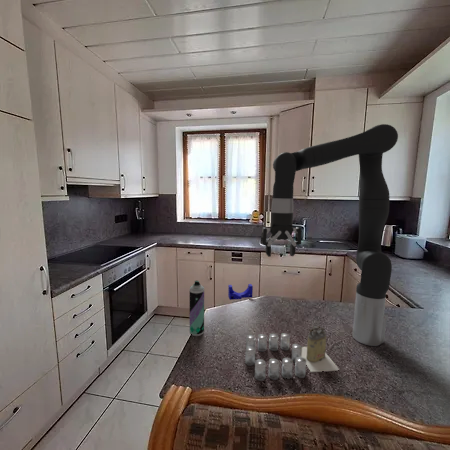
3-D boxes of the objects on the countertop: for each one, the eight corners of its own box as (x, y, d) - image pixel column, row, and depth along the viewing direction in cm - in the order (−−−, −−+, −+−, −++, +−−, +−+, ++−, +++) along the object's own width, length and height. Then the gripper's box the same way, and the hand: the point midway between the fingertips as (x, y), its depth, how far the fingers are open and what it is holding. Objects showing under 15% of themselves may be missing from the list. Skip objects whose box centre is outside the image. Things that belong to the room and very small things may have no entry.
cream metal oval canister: (318, 350, 85) (320, 322, 84) (328, 357, 82) (330, 327, 80) (303, 357, 81) (305, 328, 80) (313, 364, 78) (315, 334, 77)
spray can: (186, 331, 96) (186, 281, 93) (198, 326, 100) (198, 277, 97) (195, 337, 92) (195, 284, 89) (207, 332, 96) (207, 281, 93)
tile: (320, 346, 88) (320, 345, 88) (339, 370, 76) (339, 369, 76) (295, 348, 87) (295, 347, 87) (310, 372, 75) (310, 371, 75)
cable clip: (229, 299, 126) (229, 288, 125) (228, 296, 130) (228, 284, 130) (253, 298, 128) (253, 287, 127) (250, 295, 132) (251, 284, 131)
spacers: (291, 344, 89) (292, 332, 88) (312, 377, 73) (313, 363, 72) (240, 347, 87) (241, 335, 86) (250, 381, 71) (251, 366, 70)
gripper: (297, 210, 94) (295, 253, 96) (259, 210, 92) (258, 253, 94) (306, 212, 87) (303, 258, 89) (265, 212, 85) (263, 259, 87)
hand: (280, 256), depth 91 cm, fingers open, 8 cm apart
